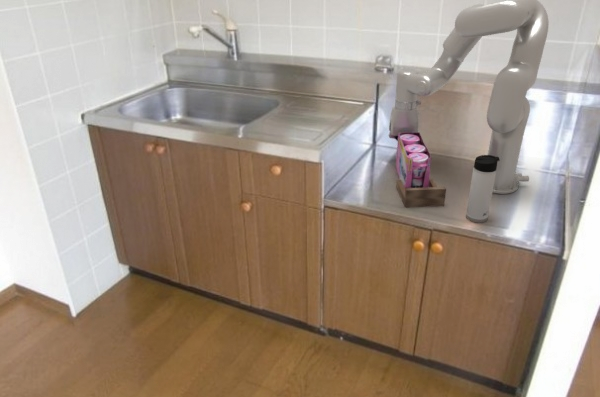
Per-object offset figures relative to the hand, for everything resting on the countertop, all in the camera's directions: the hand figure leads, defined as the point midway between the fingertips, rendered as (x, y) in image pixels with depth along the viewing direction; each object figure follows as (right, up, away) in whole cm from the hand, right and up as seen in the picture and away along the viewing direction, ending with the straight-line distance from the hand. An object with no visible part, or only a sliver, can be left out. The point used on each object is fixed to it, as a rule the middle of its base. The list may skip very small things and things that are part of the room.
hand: (402, 151), depth 185 cm
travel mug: (+16, -23, -35) cm, 45 cm away
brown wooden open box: (+1, -17, -22) cm, 28 cm away
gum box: (+1, -11, -12) cm, 16 cm away
